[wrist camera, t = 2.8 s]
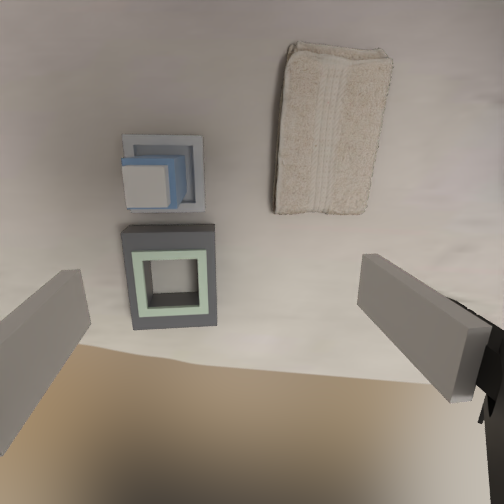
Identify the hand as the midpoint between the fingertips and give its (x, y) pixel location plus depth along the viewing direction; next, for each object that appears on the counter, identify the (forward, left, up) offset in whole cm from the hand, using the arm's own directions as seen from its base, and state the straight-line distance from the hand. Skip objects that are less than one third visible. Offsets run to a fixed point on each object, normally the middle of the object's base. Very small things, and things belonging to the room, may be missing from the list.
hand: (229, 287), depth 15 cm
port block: (+9, -6, -24) cm, 26 cm away
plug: (-3, -6, -23) cm, 24 cm away
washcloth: (-7, +12, -24) cm, 28 cm away
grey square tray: (-3, -6, -24) cm, 25 cm away
